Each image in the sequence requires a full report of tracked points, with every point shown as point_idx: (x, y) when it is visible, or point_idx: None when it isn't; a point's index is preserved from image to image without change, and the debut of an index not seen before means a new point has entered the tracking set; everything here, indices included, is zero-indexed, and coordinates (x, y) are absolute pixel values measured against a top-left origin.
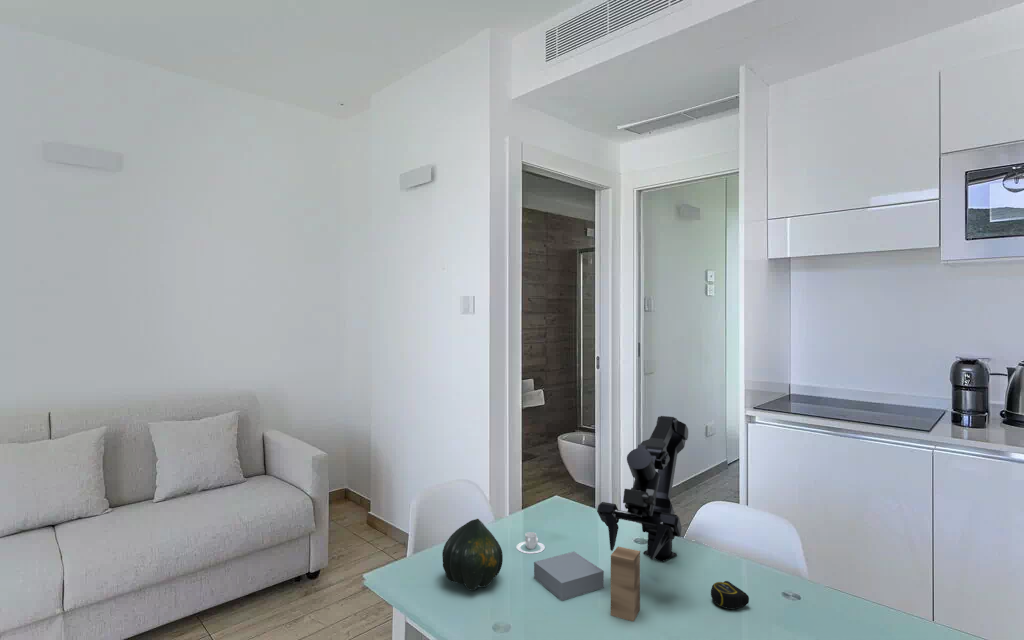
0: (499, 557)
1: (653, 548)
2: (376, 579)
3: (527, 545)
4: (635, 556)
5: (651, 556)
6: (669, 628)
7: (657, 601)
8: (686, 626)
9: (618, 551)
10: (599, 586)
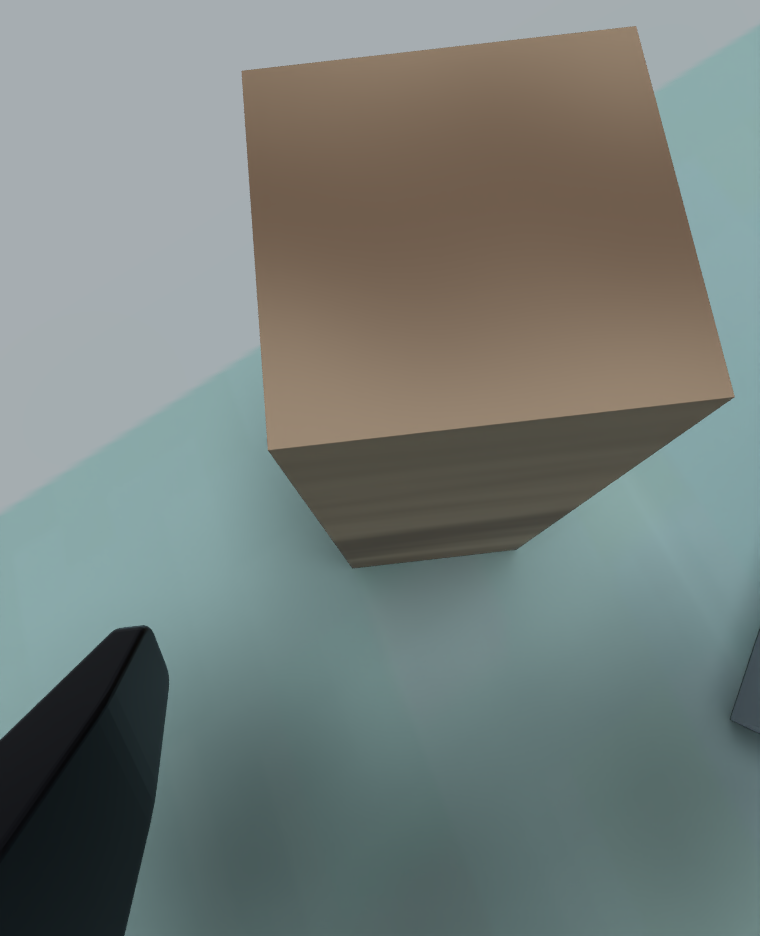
0: None
1: (50, 743)
2: None
3: None
4: (265, 206)
5: (127, 631)
6: (115, 475)
7: (284, 774)
8: (21, 561)
9: (604, 209)
10: (755, 679)
